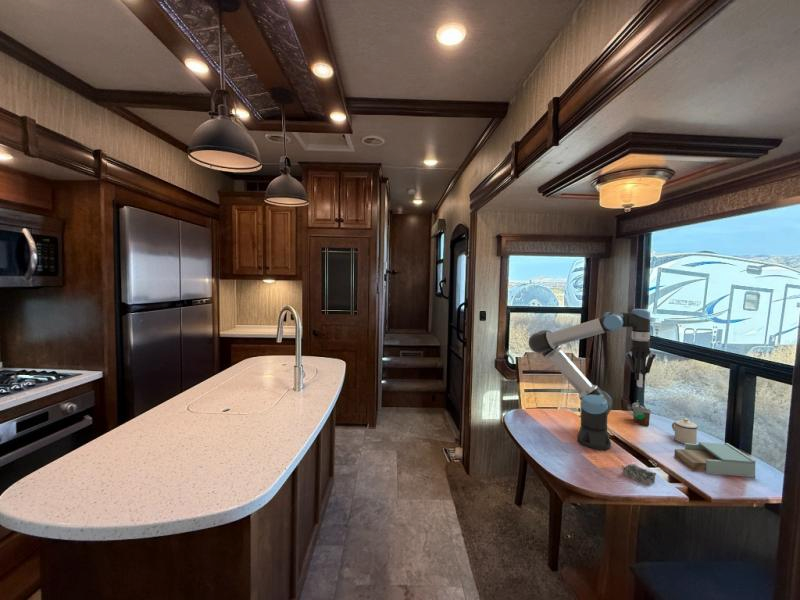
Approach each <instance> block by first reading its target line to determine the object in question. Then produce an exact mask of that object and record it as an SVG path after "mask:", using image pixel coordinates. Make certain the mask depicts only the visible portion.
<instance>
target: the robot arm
mask: <svg viewBox="0 0 800 600" xmlns="http://www.w3.org/2000/svg"><path fill="white" fill-rule="evenodd" d="M621 328H631V347H630V351H628V352H625V353H624V354H625V356H626V357H627V361H628V362H627V363H628V365H629V369H630V372H632V373H634V380H636V386H637V387H638V388H643V387H644V386H643V384H644V383H643V381H645V379H646V374H649V373H650V372H651V369H652V365H653V361H654V359H655V358H656V357H657V355H656V354H655V353H652V351H651V349H650V348H651V341H650V340H651V311H650V309H648V308H633V309H632V310H631V312H621V311H620V312H618V311H617V312H614V311H606V312H605V313H604V314H603V316H602V317H599V318H598V317H597V318H596V319H592V320H589V321H585V322H582V323H578V324H576V325H573V326H571V325H570V326H569V327H565V328H562V329H559V330H555V331H550V330H547V329H545V330H539V331H538V332H535V333H533V334H531V336H529V338H528V346H529V348H530V350H531V351H532V352H534V353H537V354H541V355H542V357H544V358H547V359H549V361H550V362H552V363H553V365H554V366H555V368H556V369H557V370H558V371H559V372H560V373H561V374H562V376H564V378H565V379H566V380H567V382H569V384H570V385H571V386H572V387H573V389H575V391H577V393H578V399H579V400H580V426H579V427H580V428H579V430H578V432H577V434H576V441H577V443H578V444H579V445H580V446H582V447H584V448H587V449H590V450H595V451H608V450H610V449H611V448H612V441H611V438H610V436H609V432H608V416H609V413H610V412H611V411H612V408H613V400H612V398H611V396H610V395H609V394H608V393H607V392H606V391H604V390H602V389H601V388H600V387H599V386H598V385H596V384H593V383H592V382H591V381H590V380H589V379H588V378H587V377H586V375H585V374H584V373H583V372H582V371H581V370H580V368H579V367H578V366H577V365H576V364H575V363H574V362H573V361H572V359H570V357H569V356H568V355H567V354H566V353H565V352H564V351H563V349H562V345H565V344H567V343H571V342H575V341H579V340H583V339H586V338H590V337H593V336H597V335H601V334H605V333H608V332H612V331H617V330H620V329H621ZM633 358H634V360H633Z"/></svg>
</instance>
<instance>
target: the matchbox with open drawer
mask: <svg viewBox="0 0 800 600" xmlns="http://www.w3.org/2000/svg"><path fill="white" fill-rule="evenodd" d="M684 450H702V451H709V452H710V453H712V454H713V455H714V456H716V457H717V458H718V459H720V460H711V459H706V471H705V472H706V473H707V474H716V475H729V476H738V477H750V478H756V464H757V463H756V459H753V458H751V456H749V455H747V454H746V453H744V452H743V451H741V450H739V449H738V448H736V447H735V446H733V445H731V443H728V442H725V443H715V442H705V441H704V442H702V441H699V442H698V443H696V444H690V443H685V444H684Z"/></svg>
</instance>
